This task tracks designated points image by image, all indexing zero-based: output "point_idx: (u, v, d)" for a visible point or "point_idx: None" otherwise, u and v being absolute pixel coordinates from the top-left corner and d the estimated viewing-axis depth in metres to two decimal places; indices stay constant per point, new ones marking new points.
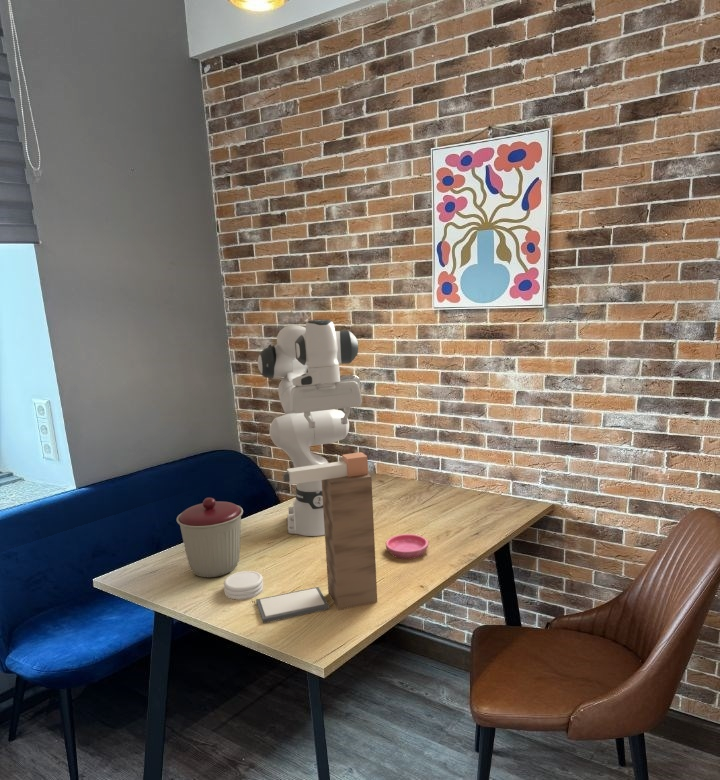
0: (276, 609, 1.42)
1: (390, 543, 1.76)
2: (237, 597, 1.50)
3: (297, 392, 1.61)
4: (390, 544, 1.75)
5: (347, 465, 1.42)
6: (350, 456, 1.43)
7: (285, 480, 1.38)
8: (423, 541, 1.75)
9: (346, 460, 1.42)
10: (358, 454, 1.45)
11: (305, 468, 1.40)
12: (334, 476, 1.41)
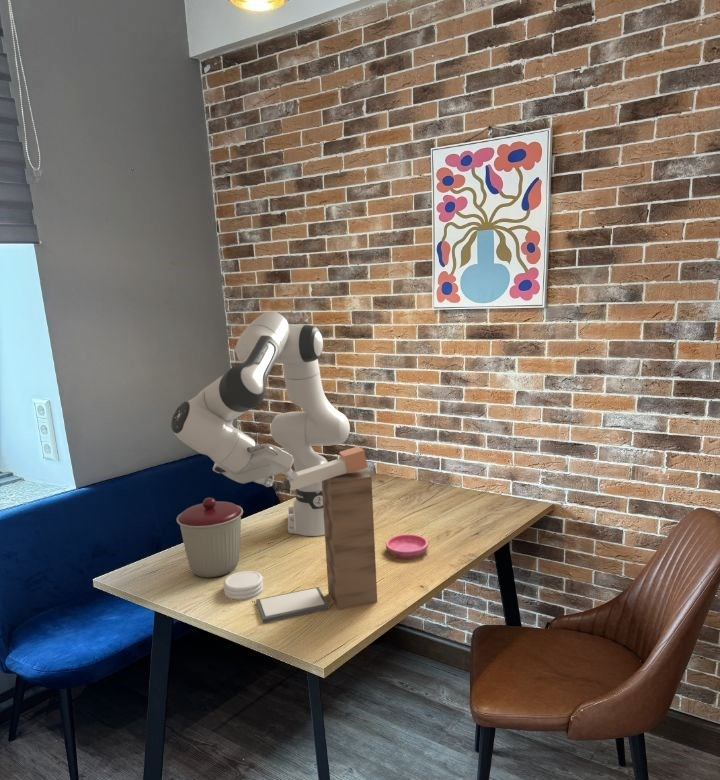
0: (276, 609, 1.42)
1: (390, 543, 1.76)
2: (237, 597, 1.50)
3: (224, 474, 1.40)
4: (390, 544, 1.75)
5: (345, 462, 1.41)
6: (347, 452, 1.43)
7: (286, 487, 1.38)
8: (423, 541, 1.75)
9: (343, 457, 1.42)
10: (355, 449, 1.44)
11: (304, 472, 1.40)
12: (334, 475, 1.41)
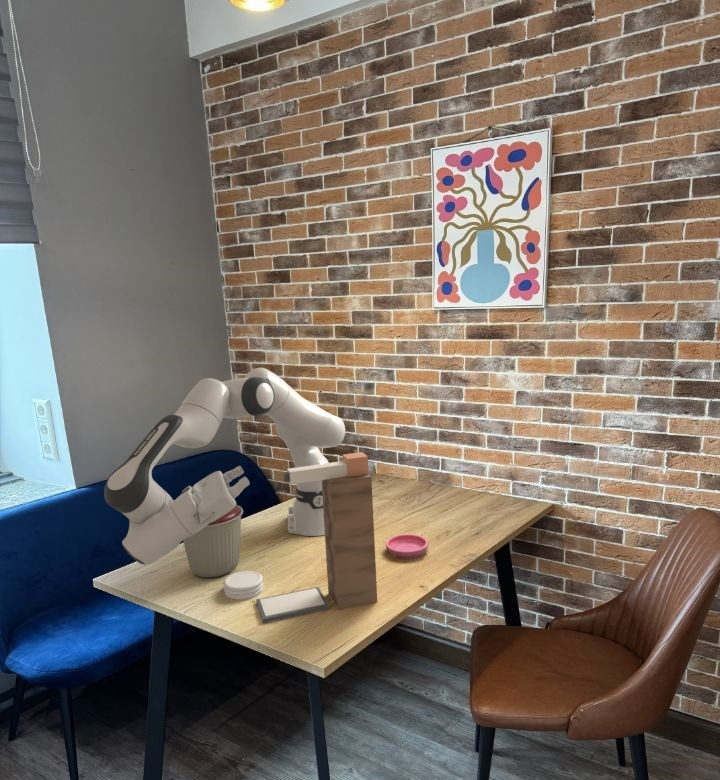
0: (276, 609, 1.42)
1: (390, 543, 1.76)
2: (237, 597, 1.50)
3: None
4: (390, 544, 1.75)
5: (347, 465, 1.42)
6: (350, 456, 1.43)
7: (285, 480, 1.38)
8: (423, 541, 1.75)
9: (346, 460, 1.42)
10: (358, 454, 1.45)
11: (305, 468, 1.40)
12: (334, 476, 1.41)
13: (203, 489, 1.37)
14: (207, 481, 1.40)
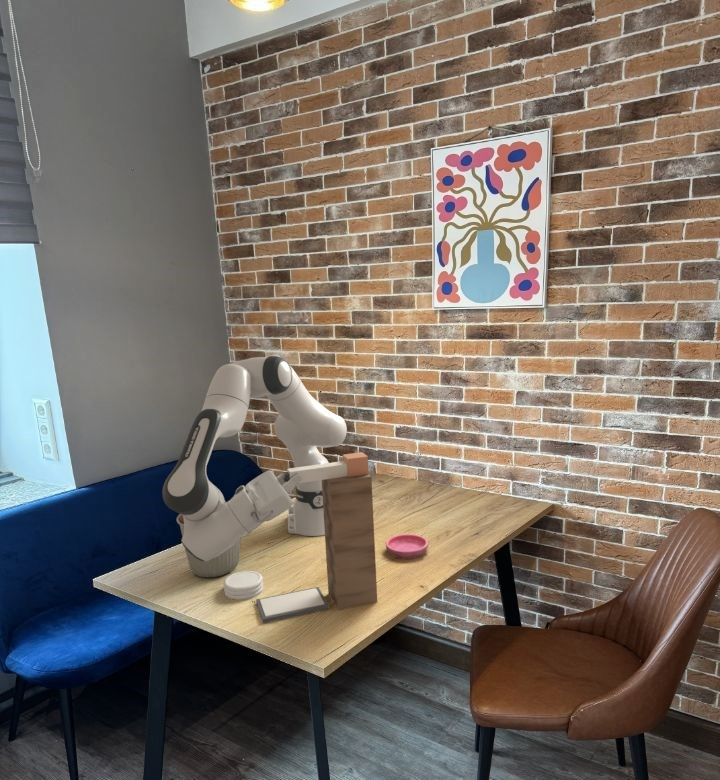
0: (276, 609, 1.42)
1: (390, 543, 1.76)
2: (237, 597, 1.50)
3: None
4: (390, 544, 1.75)
5: (347, 465, 1.42)
6: (350, 456, 1.43)
7: (285, 480, 1.38)
8: (423, 541, 1.75)
9: (346, 460, 1.42)
10: (358, 454, 1.45)
11: (305, 468, 1.40)
12: (334, 476, 1.41)
13: (257, 488, 1.41)
14: (259, 480, 1.44)
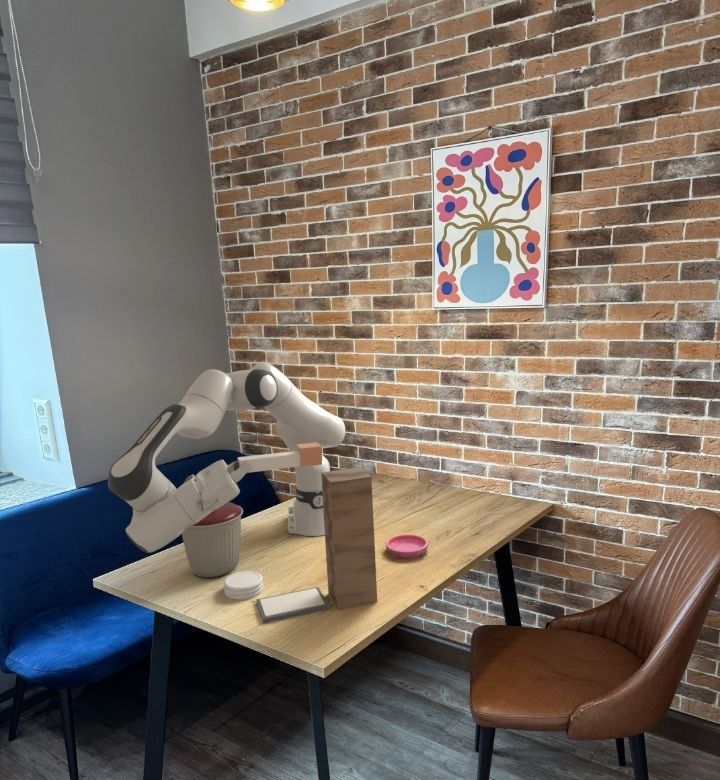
0: (276, 609, 1.42)
1: (390, 543, 1.76)
2: (237, 597, 1.50)
3: None
4: (390, 544, 1.75)
5: (300, 455, 1.37)
6: (304, 445, 1.39)
7: (235, 469, 1.34)
8: (423, 541, 1.75)
9: (299, 450, 1.38)
10: (313, 444, 1.40)
11: (256, 457, 1.36)
12: (286, 466, 1.37)
13: (206, 477, 1.37)
14: (210, 470, 1.40)
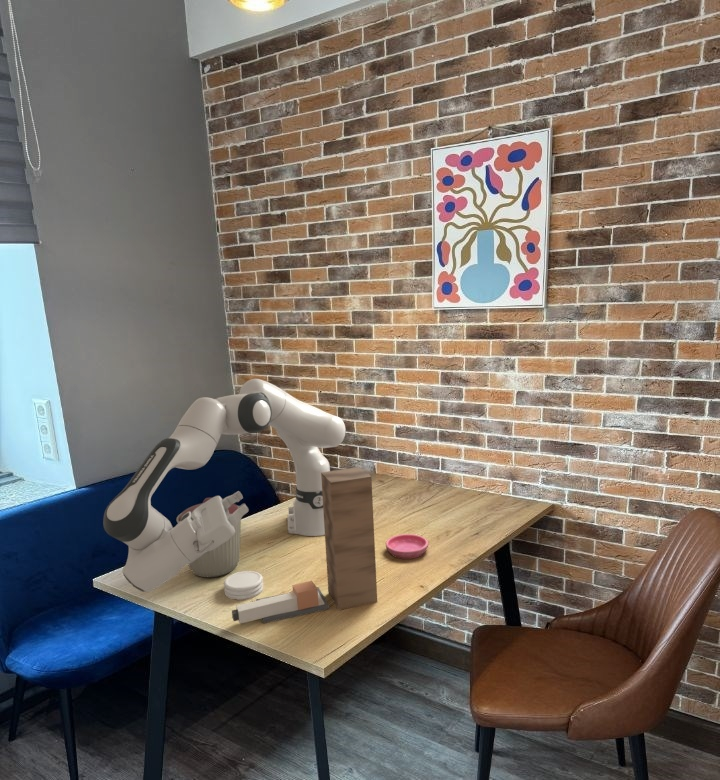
0: None
1: (390, 543, 1.76)
2: (237, 597, 1.50)
3: None
4: (390, 544, 1.75)
5: (297, 599, 1.41)
6: (300, 587, 1.43)
7: (234, 619, 1.37)
8: (423, 541, 1.75)
9: (296, 593, 1.42)
10: (308, 584, 1.45)
11: (255, 605, 1.39)
12: (284, 610, 1.41)
13: (202, 515, 1.38)
14: (206, 506, 1.41)
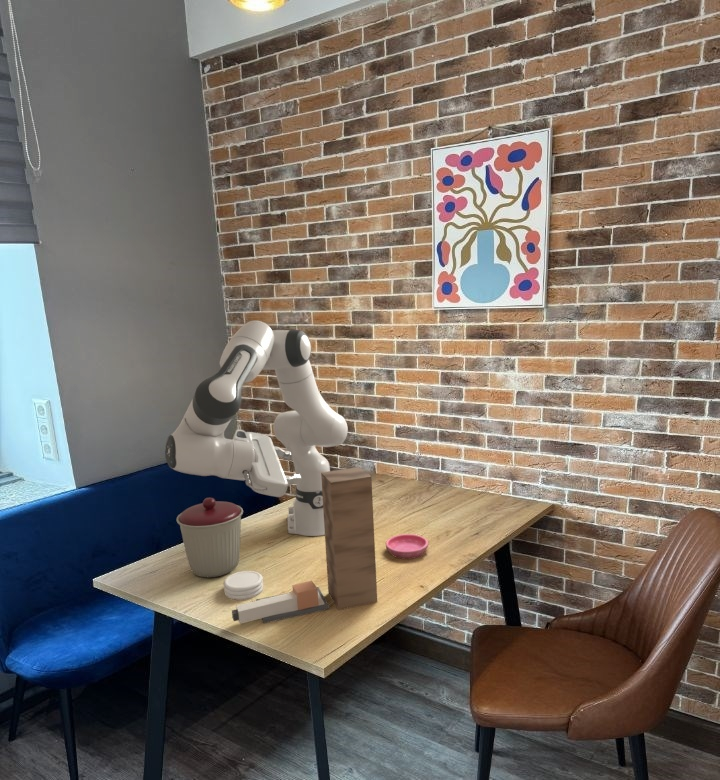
0: None
1: (390, 543, 1.76)
2: (237, 597, 1.50)
3: None
4: (390, 544, 1.75)
5: (297, 599, 1.41)
6: (300, 587, 1.43)
7: (234, 619, 1.37)
8: (423, 541, 1.75)
9: (296, 593, 1.42)
10: (308, 584, 1.45)
11: (255, 605, 1.39)
12: (284, 610, 1.41)
13: (255, 447, 1.39)
14: (259, 440, 1.42)
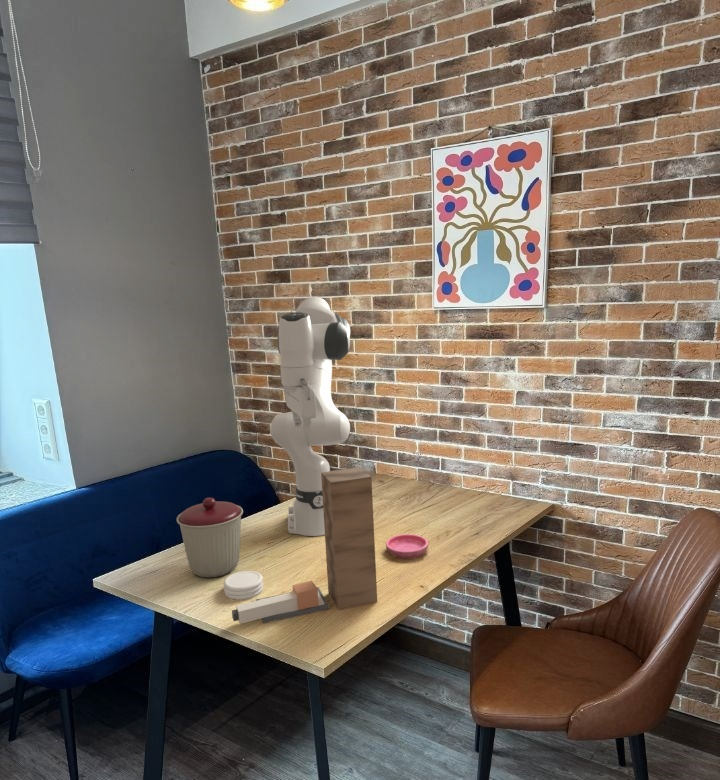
0: None
1: (390, 543, 1.76)
2: (237, 597, 1.50)
3: (283, 386, 1.59)
4: (390, 544, 1.75)
5: (297, 599, 1.41)
6: (300, 587, 1.43)
7: (234, 619, 1.37)
8: (423, 541, 1.75)
9: (296, 593, 1.42)
10: (308, 584, 1.45)
11: (255, 605, 1.39)
12: (284, 610, 1.41)
13: None
14: None
